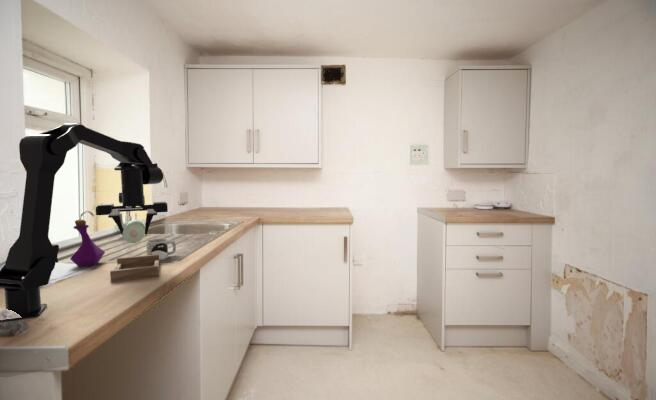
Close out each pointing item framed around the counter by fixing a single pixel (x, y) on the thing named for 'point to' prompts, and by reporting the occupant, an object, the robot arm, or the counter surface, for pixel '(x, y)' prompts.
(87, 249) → the perfume bottle
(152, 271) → the holder
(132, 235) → the roll
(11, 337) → the counter surface
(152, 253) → the mug
